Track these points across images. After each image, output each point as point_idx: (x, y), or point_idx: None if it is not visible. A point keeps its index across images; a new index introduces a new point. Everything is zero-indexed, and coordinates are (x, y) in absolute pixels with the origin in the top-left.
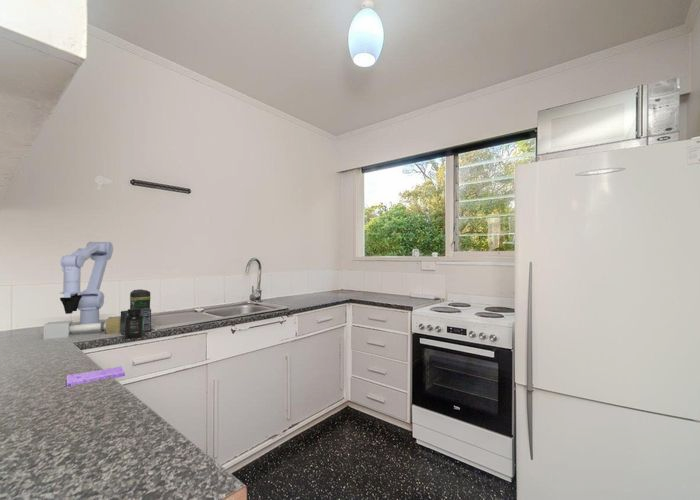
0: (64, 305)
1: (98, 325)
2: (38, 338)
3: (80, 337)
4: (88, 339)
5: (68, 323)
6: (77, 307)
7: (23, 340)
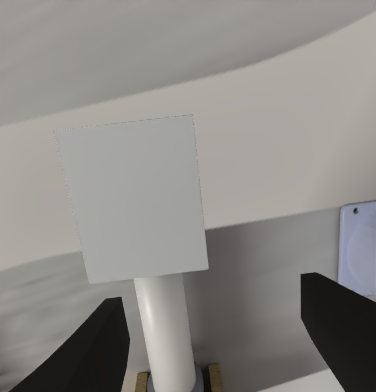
0: (31, 386)
1: (153, 383)
2: (152, 80)
3: (95, 292)
4: (30, 341)
5: (90, 280)
6: (330, 355)
7: (119, 9)
